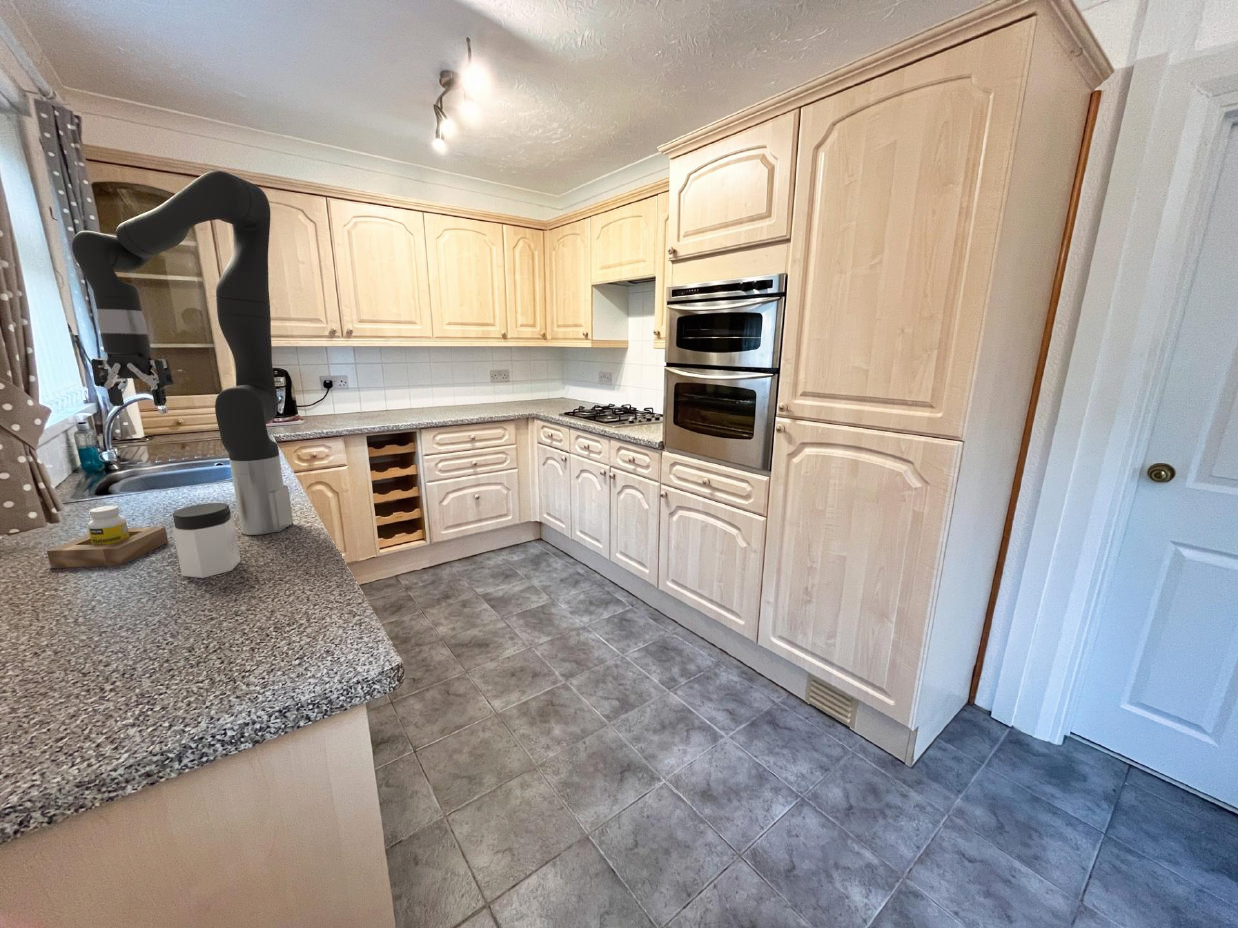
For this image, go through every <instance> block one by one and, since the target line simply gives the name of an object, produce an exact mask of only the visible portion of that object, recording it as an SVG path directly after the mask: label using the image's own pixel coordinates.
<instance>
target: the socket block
mask: <svg viewBox="0 0 1238 928" xmlns="http://www.w3.org/2000/svg"><path fill="white" fill-rule="evenodd" d="M128 532H129V536H130V537H129V538H127V539H124V540H122V541H120V542H118V543H115V544H100V545H92V542H91V537H90V533H87V534H85V535H83V536H80V537H78V538H74V539H73V540H70V541H67V542H65V543H62V544H60V545H58V546H55V547H53V548H50V549H48V550H47V549H46V554H47V558H48V561H49V562H48V563H49V565H50V568H52V569H54V568H55V569H59V568H62V569H63V568H90V567H93V568H94V567H116V566H118V567H120V566H123V565H125V564H127V563H130V562H131V561H133V560H135V559H138V558H139V557H141V556H143V555H145V554H147V553H149V552H151V551H153V550H155V549H157V548H159V547H162V546H163V545H165V544H167V543H169V540H168V539H169V538H168V535H167V529H166V526H147V527H146V526H144V527H140V526H139V527H128Z"/></svg>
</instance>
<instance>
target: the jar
mask: <svg viewBox="0 0 1238 928" xmlns="http://www.w3.org/2000/svg"><path fill="white" fill-rule="evenodd" d="M231 513H232V512H231V509H230V505H229V504H227V503H224V502H223V503H222V502H212V503H211V502H210V503H209V502H208V503H201V504H195V505H190V506H186V507H182V508H180V509H178V510H176V511H174V512H173V513H172V517H173V522H174V523H173V524H174V527H173V528H172V533H173V538H174V543H175V548H176V554H177V557H178V558H177V559H178V562H179V567H180V572H181V576H182V577H188V578H198V579H205V578H208V577H209V578H210V577H213V576H216V575H220V574H224V573H228V572H231V571H233V570H235V569H234V568H235V567H237V566H238V564H240V562H241V555H240V549H239V543H238V537H237V533H236V526H235V521H234V517H233V516H231V515H232V514H231Z"/></svg>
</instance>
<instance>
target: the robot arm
mask: <svg viewBox="0 0 1238 928" xmlns="http://www.w3.org/2000/svg"><path fill="white" fill-rule="evenodd" d="M217 220H220V221H222V222H224V223H227V224H230V225H231V226H232V234H233V236H232V237H233V239H232V241H233V247H232V248H233V249H232V253H231V256H230V259H229V261H228V263H227V265H226V267H225V269H224V270H223V271H222V274H221V275H220V277H219V279H218V282H217V284H216V289H215V298H216V300H215V302H216V314H217V319H218V324H219V325H218V326H219V327H220V330H221V332H222V335H223V337H224V340H225V341H226V343H227V346H228V348H229V349H230V352H231V354H232V357H233V361H234V364H235V365H234V366H235V386H229V387H227V388H224V389H222V390H221V392H219V393H218V394H217V397H216V398H215V402H214V411H215V418H216V423H217V427H218V428H217V429H218V431H219V436H220V440H221V443H222V446H223V448H224V449H225V450H226V452H227V454H228V458H229V460H228V461H229V465H230V472H231V477H232V483H233V489H234V495H235V501H236V507H237V515H238V519H239V526H240V530H241V533H242V534H243V535H248V536H249V535H250V536H253V535H254V536H258V535H266V534H271V533H272V534H273V533H280V532H282V531H284V530H285V529H286V527H287V528H288V527H289V525H290V526H291V525H293V524H292V523H294V519H293V518H294V517H293V512H292V511H293V510H292V506H291V498H290V491H289V486H288V485H286V484H285V483H284V478H283V472H282V463H281V457H280V450H279V446H278V443H277V442H276V441H274V440H272V439H271V438H270V436H269V431H268V428H267V423H270V422H271V421H272V420H274V418H275V417H276V416H277V414H278V412H279V411H278V410H279V399H278V398H279V397H278V393H277V388H276V381H275V375H274V370H273V356H272V355H273V351H272V329H271V328H272V327H271V326H272V322H271V321H272V320H271V319H272V317H271V299H270V288H269V287H270V286H269V284H270V283H269V247H270V232H271V206H270V202H269V199H268V197H267V195H266V193H265V191H263V189H262V188H260V186H257V185H256V184H254V183H252V182H250V181H247V180H246V179H243V178H241V177H238V176H236V175H233V174H231V173H229V172H227V171H222V170H216V169H215V170H211V171H208V172H206V173H204V174H202V175H200V176H199V177H197V178H196V179H194V180H193V181H191V182H190V183H189V184H187V185H186V186H185V187H184V188H183V189H181V190H180V191H178V192H177V193H175V194H174V195H173V196H170V198H168V199H167V200H166V201H164V202H163V203H162V204H160V205H159V206H157V207H155V208H153V209H151V210H149V211H146V212H144V213H142V214H139V215H138V216H134V217H133V218H130V219H128V220H125V221H124V222H121V223H120V224H118V226H117V227H116V229H115V235H111V234H106V233H101V232H98V231H97V232H96V231H92V230H81V231H79V232H77V233H75V235H74V236H73V238H72V241H71V251H72V254H73V256H74V259H75V260H76V263H77V264H78V266H79V268H80V270H81V271H82V273H83V275H84V276H85V279H86V281H87V282H88V284H89V286H90V287H91V289H92V293H93V299H94V302H95V308H96V315H97V324H98V328H99V332H100V333H99V334H100V338H101V343H102V349H103V352H104V353H105V354H106V355H107V359H105V358H92V359H91V360H90V363H91V370H92V371H91V372H92V376H93V377H92V378H93V383H94V385H95V386H96V387H101V388H104V389H106V391H107V395H108V400H109V403H111V404H112V406H113V407H121V406H124V405H125V401H124V397H123V393H122V388H120V387H121V385H122V384H123V382H125V381H126V380H128V379H134V380H139V379H140V380H141V381H142V382H143V383H146V384H147V385H148V386H150V388H152V389H151V393H152V399H153V403H154V406H155V407H163V406H165V405H166V403H167V402H168V401H167V394H166V388H169V387H171V386H174V384H175V383H174V378H173V376H172V375H173V374H172V371H171V367H170V364H169V360H168V359H165V358H161V359H160V358H159V359H153V358H152V357H151V354H152V348H151V343H150V337H149V334H148V329H147V328H148V327H147V323H146V319H145V317H144V314H143V311H142V305H141V300H140V295H139V291H138V288H137V287H136V286H135V285H134V284H131V283H130V282H126V281H123V280H121V278H119V277H118V275H117V274H116V272H115V271H119V272H132V271H136V270H138V269H141V268H142V267H144V265H146V264H147V263H148V262H149V261H150V260H151V259H152V258H153V257H154V256H156V255H159V254H162V253H164V252H166V251H168V250H170V249H172V248H175V247H177V246H179V245H180V244H181V243H182V242H184V241H185V239H186V238H187V236H188V233H189V231H190V230H191V229H192V227H194V226H196V225H199V224H201V223H206V222H209V221H217ZM109 368H110V369H111V371H110V372H109ZM153 368H154V369H155V371H156V372H155V371H154V370H153Z"/></svg>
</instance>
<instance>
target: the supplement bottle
mask: <svg viewBox="0 0 1238 928" xmlns="http://www.w3.org/2000/svg"><path fill="white" fill-rule="evenodd" d="M89 513H90V514H89V516H90V517H91V519H92V520H90V521H89V522H88V524H87V529H88V532H89V533H88V534H90V537H91V542H92V545H100V544H115V543H118V542H120V541H122V540H124V539H127V538H129V537H130V536H129V532H128V528H129V527H128V524H127V519H126V518H125V517H124V516H122V515H120V509H119V506H118V505H106V506H103V505H102V506H98V507H94V508H92V509H90V510H89Z"/></svg>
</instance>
